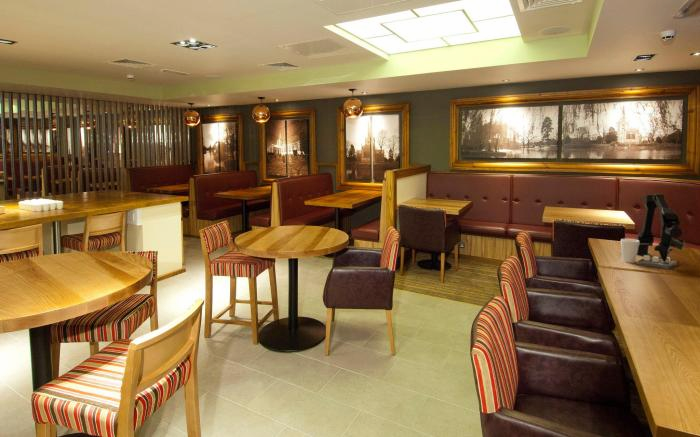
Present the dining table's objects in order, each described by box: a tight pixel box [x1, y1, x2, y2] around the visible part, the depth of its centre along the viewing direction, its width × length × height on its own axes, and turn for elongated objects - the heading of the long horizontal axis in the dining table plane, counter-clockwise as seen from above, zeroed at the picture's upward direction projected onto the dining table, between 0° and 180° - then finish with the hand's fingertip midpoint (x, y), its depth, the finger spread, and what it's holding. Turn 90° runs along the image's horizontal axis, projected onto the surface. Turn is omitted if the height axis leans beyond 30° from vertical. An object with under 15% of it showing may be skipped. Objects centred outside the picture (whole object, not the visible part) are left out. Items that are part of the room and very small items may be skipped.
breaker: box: [642, 255, 651, 261], centre depth 252 cm, size 2×3×3 cm
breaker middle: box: [652, 255, 660, 262], centre depth 249 cm, size 2×3×3 cm
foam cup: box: [620, 238, 640, 264], centre depth 258 cm, size 10×9×13 cm
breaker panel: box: [637, 256, 678, 270], centre depth 251 cm, size 16×15×2 cm
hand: (664, 261), depth 245 cm, fingers closed
